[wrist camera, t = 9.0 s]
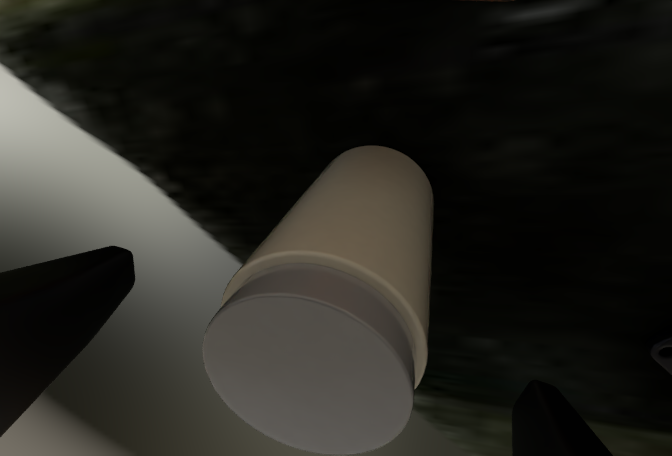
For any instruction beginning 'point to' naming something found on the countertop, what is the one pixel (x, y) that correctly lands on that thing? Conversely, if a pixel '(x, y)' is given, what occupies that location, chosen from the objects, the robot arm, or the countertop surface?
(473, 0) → the bowl
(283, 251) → the cylinder
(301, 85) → the countertop surface
